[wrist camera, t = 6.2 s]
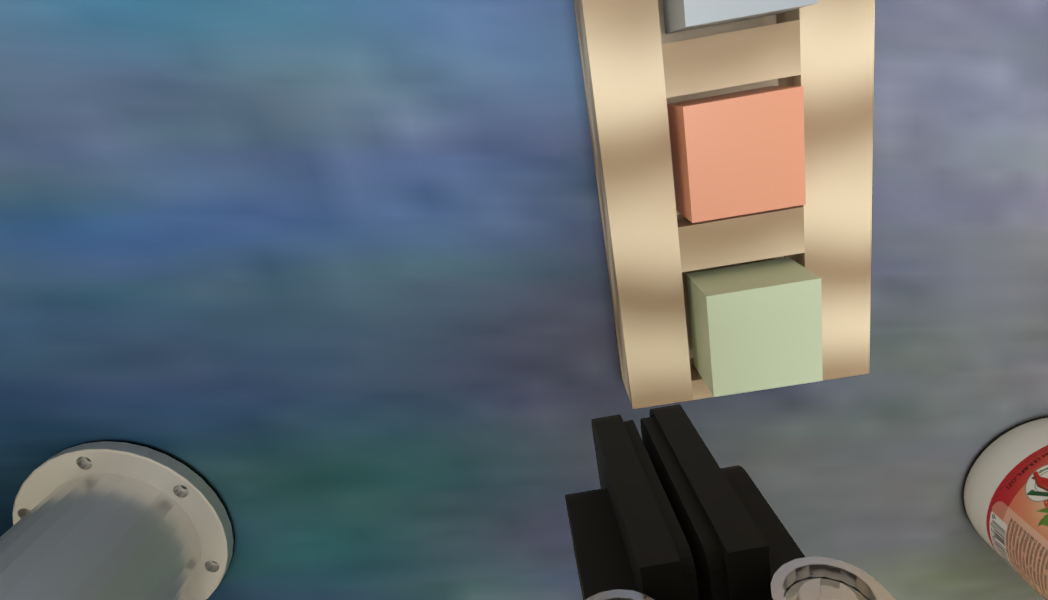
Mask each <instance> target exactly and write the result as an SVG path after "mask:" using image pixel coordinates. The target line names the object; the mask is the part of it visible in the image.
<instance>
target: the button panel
mask: <svg viewBox="0 0 1048 600" xmlns="http://www.w3.org/2000/svg"><path fill="white" fill-rule="evenodd" d="M574 8H575V15H576V23H577V31H578V39H579V47H580V54H581V62H582V70H583V78H584V85H585V93H586V101H587V109H588V117H589V124H590V132H591V140H592V148H593V155H594V163H595V171H596V179H597V186H598V194H599V202H600V210H601V218H602V225H603V233H604V241H605V249H606V256H607V264H608V272H609V280H610V288H611V295H612V303H613V311H614V319H615V326H616V334H617V342H618V350H619V358H620V365H621V373H622V380H623V382H624V385H625V388H626V391H627V394H628V397H629V400H630V403H631V405H632V408H633V409H637V408H644V407H650V406H657V405H663V404H670V403H677V402H683V401H690V400H697V399H703V398H710V397H714V396H713V395H712V393H711V392H710V390H709V388H708V387H707V385H706V384H705V382H704V380H703V379H702V377H701V376H700V374H699V372H698V371H697V369H696V367H695V366H694V360H693V348H692V336H691V325H690V313H689V302H688V290H687V278H686V274H687V273H693V272H699V271H705V270H712V269H718V268H724V267H730V266H737V265H743V264H749V263H755V262H761V261H768V260H774V259H780V258H786V257H789V258H791V259H792V260H794V261H795V262H797V263H798V264H800V265H802V266H803V267H805V268H806V269H808V270H809V271H811V272H812V273H814V274H816V275H817V276H819V277H820V278H821V287H822V370H823V380H829V379H836V378H842V377H849V376H856V375H862V374H869V359H870V292H871V226H872V159H873V93H874V26H875V0H818V3H817V4H813V5H810V6H806V7H802V8H799V9H795V10H792V11H788V12H784V13H780V14H775V15H769V16H763V17H758V18H752V19H747V20H741V21H736V22H730V23H724V24H719V25H713V26H708V27H702V28H697V29H691V30H685V31H680V32H674V33H669V34H665V23H664V11H663V0H574ZM768 86H803V89H804V139H805V190H806V205H799V206H793V207H787V208H781V209H775V210H769V211H763V212H757V213H751V214H745V215H739V216H733V217H727V218H720V219H714V220H708V221H702V222H696V223H692V222H690V221H689V220H688V219H687V218H685V217H684V216H683V215H682V214H680V213H679V212H678V211H677V210H676V201H675V190H674V179H673V168H672V156H671V145H670V134H669V122H668V111H667V104H670V103H676V102H682V101H688V100H693V99H699V98H705V97H710V96H716V95H722V94H728V93H733V92H739V91H745V90H751V89H756V88H762V87H768Z"/></svg>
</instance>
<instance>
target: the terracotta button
mask: <svg viewBox="0 0 1048 600" xmlns="http://www.w3.org/2000/svg"><path fill="white" fill-rule="evenodd" d="M667 111H668V122H669V134H670V145H671V156H672V168H673V179H674V190H675V201H676V210H677V211H678V212H679V213H680V214H682V215H683V216H684V217H685V218H687V219H688V220H689V221H690V222H692V223H696V222H702V221H708V220H714V219H720V218H727V217H733V216H739V215H745V214H751V213H757V212H763V211H769V210H775V209H781V208H787V207H793V206H799V205H806V190H805V139H804V89H803V86H768V87H762V88H756V89H751V90H745V91H739V92H733V93H728V94H722V95H716V96H710V97H705V98H699V99H693V100H688V101H682V102H676V103H670V104H667Z"/></svg>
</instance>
